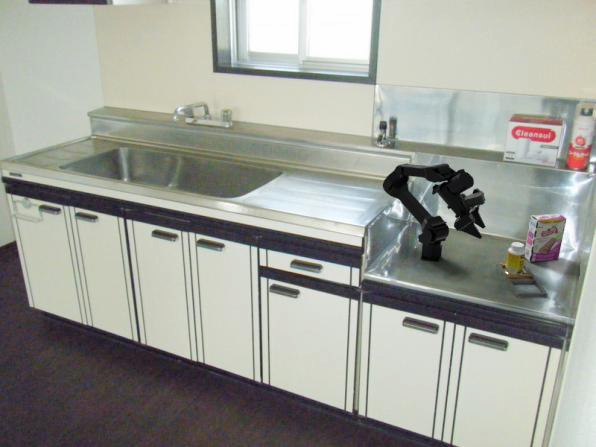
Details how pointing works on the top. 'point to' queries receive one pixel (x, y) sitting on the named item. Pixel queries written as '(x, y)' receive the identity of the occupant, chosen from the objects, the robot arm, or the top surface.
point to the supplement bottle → (515, 258)
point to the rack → (522, 281)
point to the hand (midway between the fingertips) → (482, 232)
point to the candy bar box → (544, 237)
